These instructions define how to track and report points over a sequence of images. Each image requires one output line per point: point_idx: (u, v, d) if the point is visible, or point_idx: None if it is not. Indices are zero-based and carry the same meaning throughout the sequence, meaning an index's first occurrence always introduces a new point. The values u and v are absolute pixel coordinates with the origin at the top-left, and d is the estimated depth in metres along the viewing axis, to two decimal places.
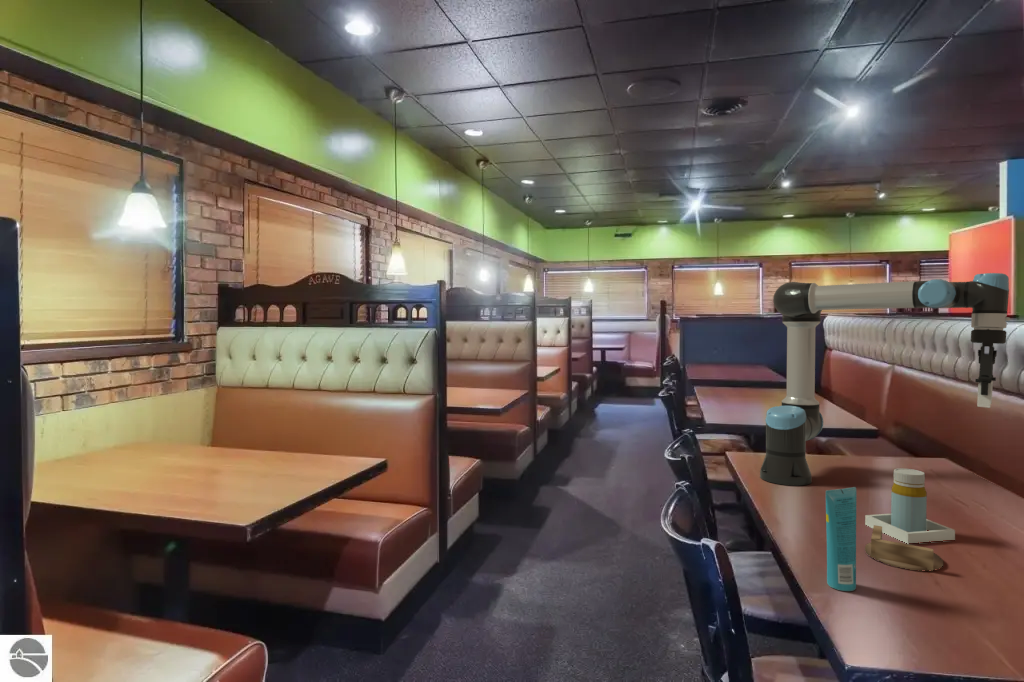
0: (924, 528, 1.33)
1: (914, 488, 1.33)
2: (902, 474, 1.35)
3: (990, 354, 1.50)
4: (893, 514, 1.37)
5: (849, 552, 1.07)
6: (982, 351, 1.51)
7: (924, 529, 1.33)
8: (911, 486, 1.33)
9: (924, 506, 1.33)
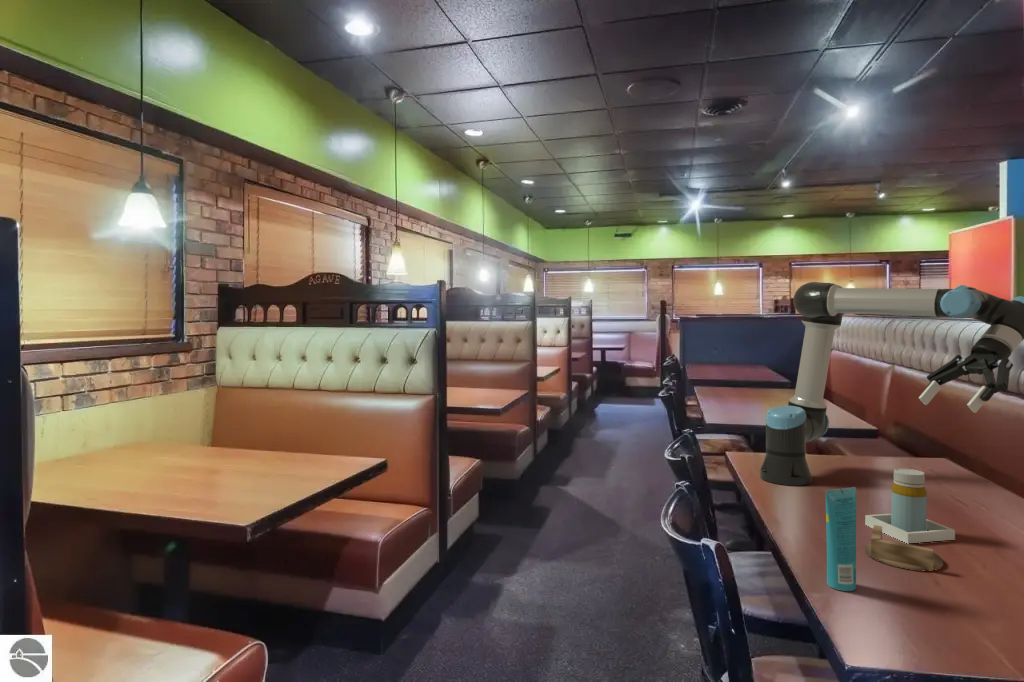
0: (924, 528, 1.33)
1: (914, 488, 1.33)
2: (902, 474, 1.35)
3: (1009, 369, 1.40)
4: (893, 514, 1.37)
5: (849, 552, 1.07)
6: (1006, 362, 1.40)
7: (924, 529, 1.33)
8: (911, 486, 1.33)
9: (924, 506, 1.33)
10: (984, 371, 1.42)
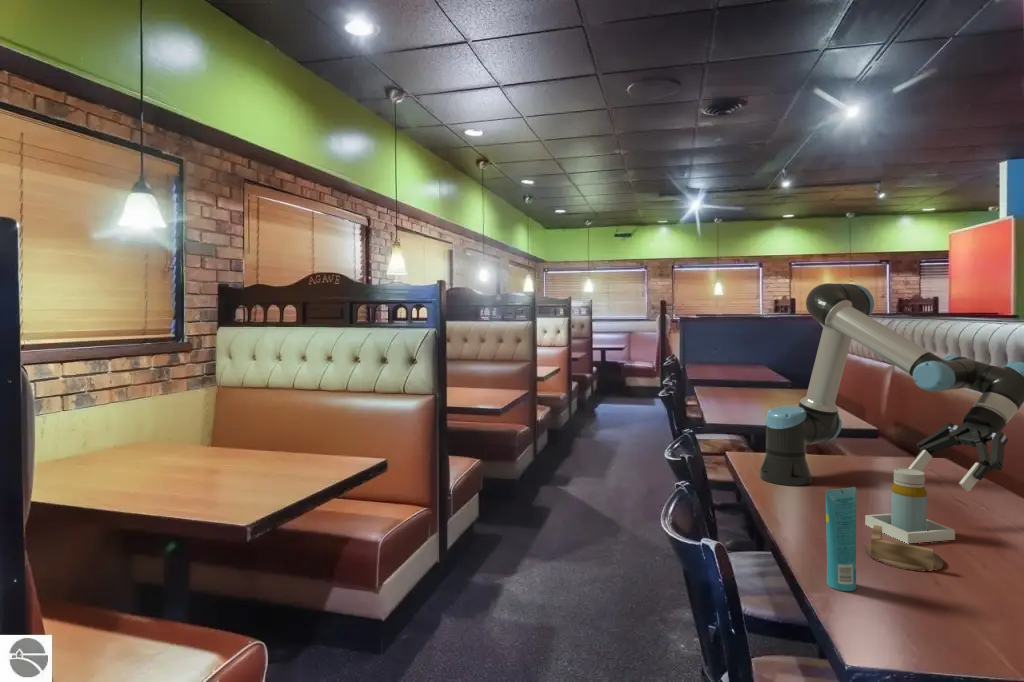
0: (924, 528, 1.33)
1: (914, 488, 1.33)
2: (902, 474, 1.34)
3: (1003, 444, 1.31)
4: (893, 514, 1.37)
5: (849, 552, 1.07)
6: (1001, 437, 1.31)
7: (924, 529, 1.33)
8: (911, 486, 1.33)
9: (924, 506, 1.33)
10: (977, 445, 1.33)
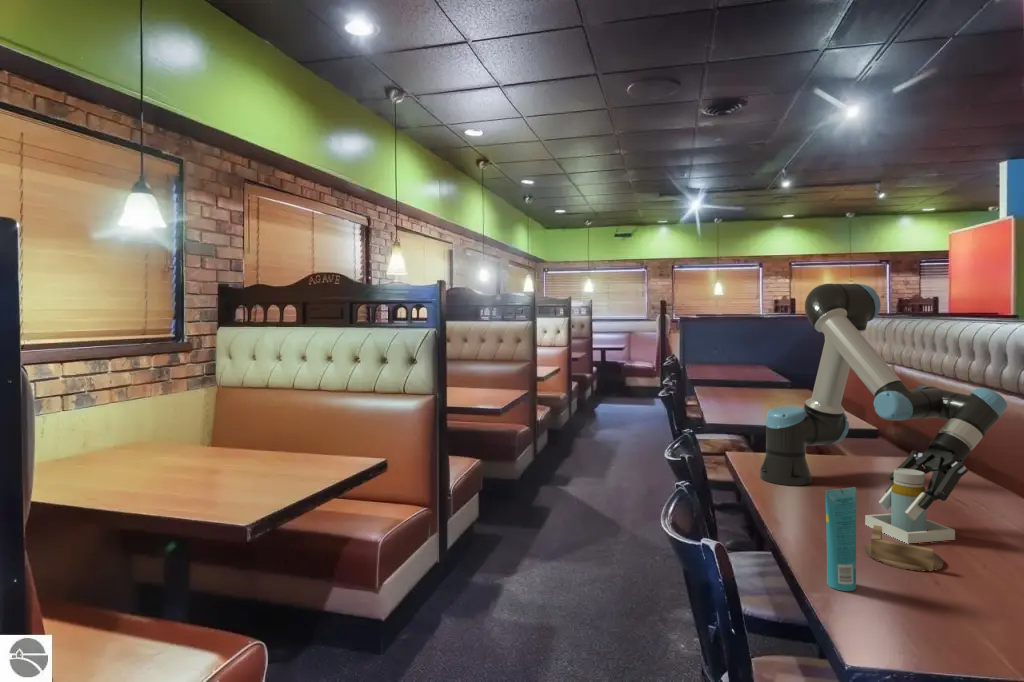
0: (924, 528, 1.33)
1: (914, 488, 1.33)
2: (902, 474, 1.35)
3: (960, 475, 1.31)
4: (893, 514, 1.37)
5: (848, 552, 1.07)
6: (958, 468, 1.31)
7: (924, 529, 1.33)
8: (911, 486, 1.33)
9: None
10: (934, 473, 1.34)
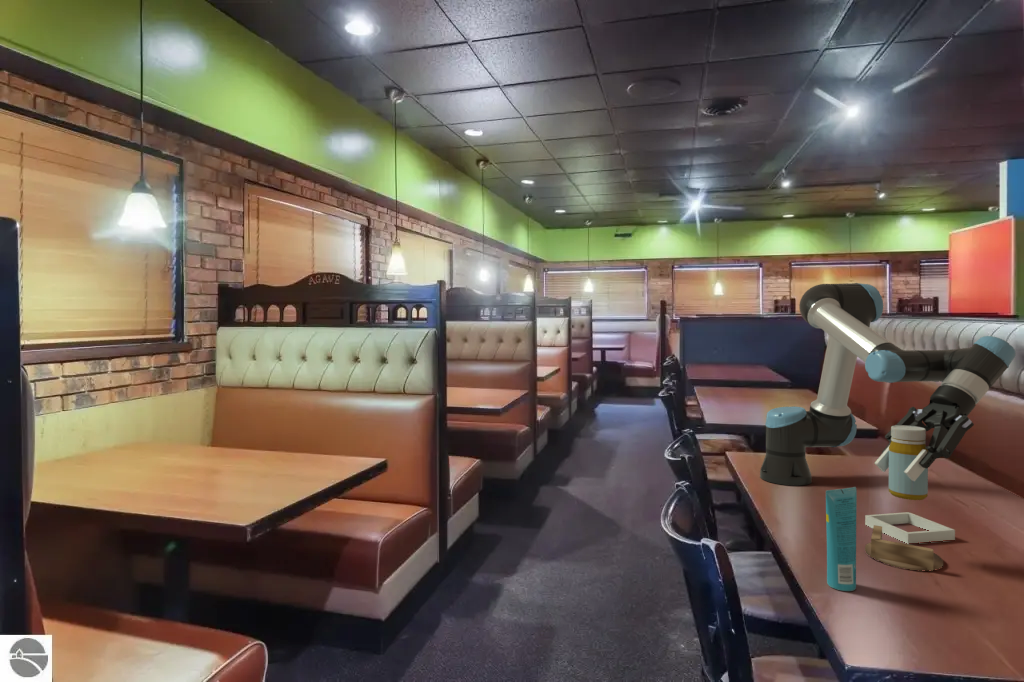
0: (925, 490, 1.19)
1: (914, 445, 1.19)
2: (901, 430, 1.21)
3: (965, 430, 1.17)
4: (891, 475, 1.23)
5: (849, 552, 1.07)
6: (963, 422, 1.17)
7: (925, 491, 1.19)
8: (910, 443, 1.19)
9: None
10: (935, 428, 1.20)
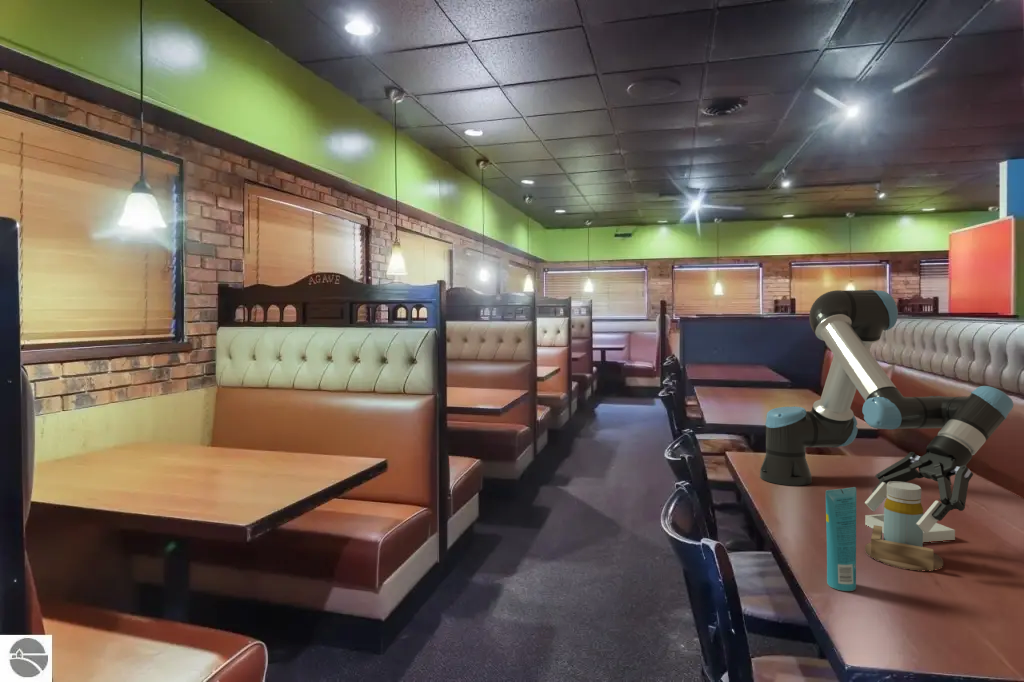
0: None
1: (909, 504, 1.19)
2: (896, 488, 1.20)
3: (967, 480, 1.16)
4: (886, 533, 1.23)
5: (848, 552, 1.07)
6: (964, 472, 1.16)
7: None
8: (905, 502, 1.19)
9: None
10: (939, 480, 1.19)
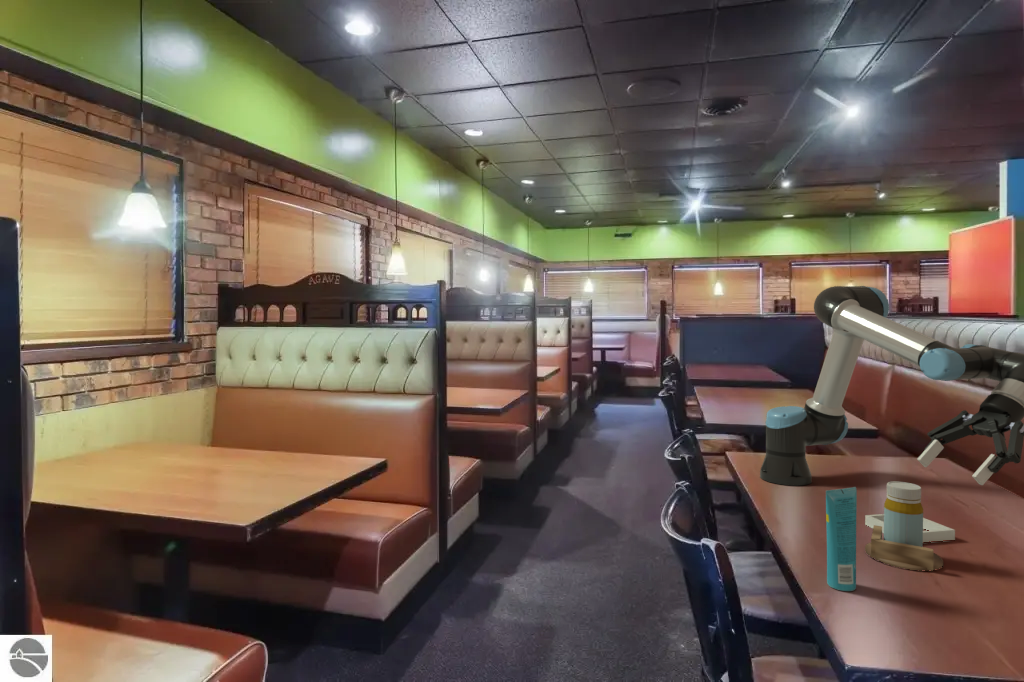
0: None
1: (909, 504, 1.19)
2: (896, 488, 1.20)
3: (1023, 434, 1.20)
4: (886, 533, 1.23)
5: (849, 552, 1.07)
6: (1020, 427, 1.20)
7: None
8: (905, 502, 1.19)
9: (920, 524, 1.19)
10: (994, 435, 1.23)
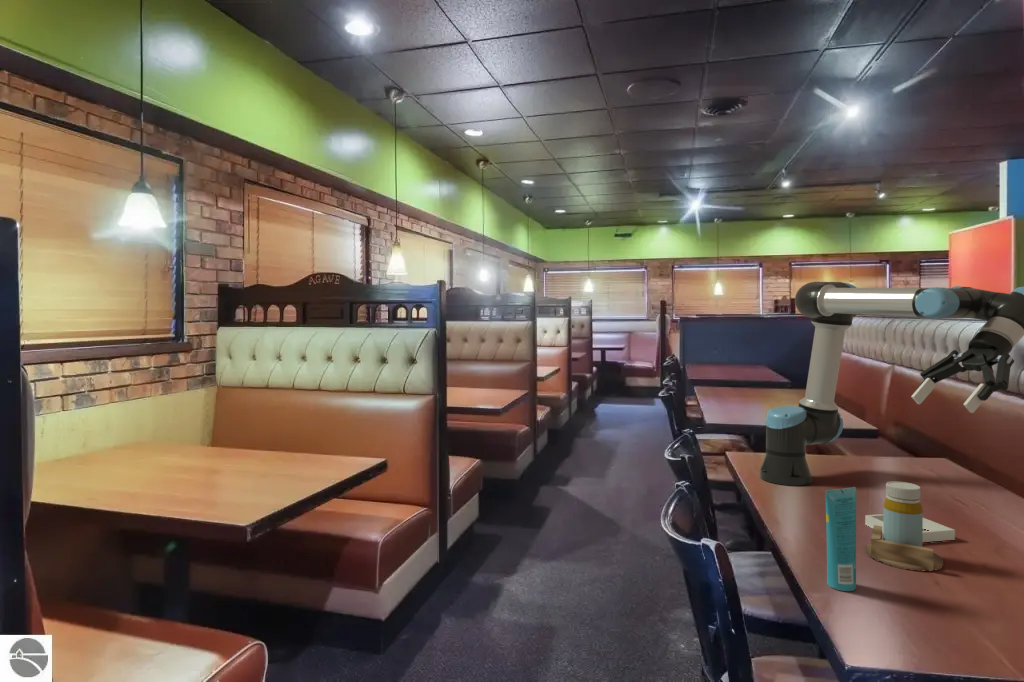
0: None
1: (909, 504, 1.19)
2: (895, 488, 1.21)
3: (1009, 365, 1.27)
4: (886, 533, 1.23)
5: (849, 552, 1.07)
6: (1006, 358, 1.27)
7: None
8: (905, 502, 1.19)
9: (920, 524, 1.19)
10: (982, 367, 1.30)
